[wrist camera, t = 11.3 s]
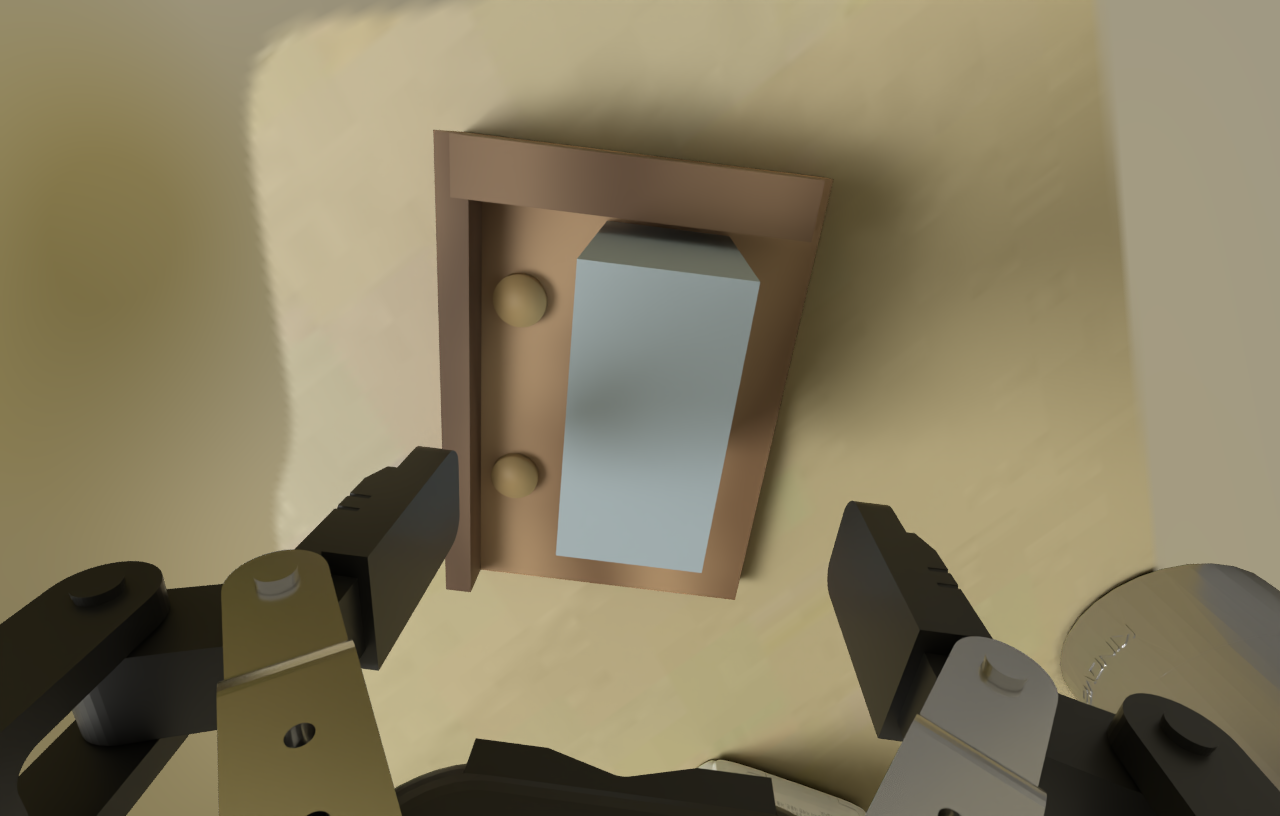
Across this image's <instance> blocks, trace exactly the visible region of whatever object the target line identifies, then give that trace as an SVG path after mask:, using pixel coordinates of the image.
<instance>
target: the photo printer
mask: <svg viewBox="0 0 1280 816" xmlns="http://www.w3.org/2000/svg"><path fill="white" fill-rule="evenodd" d="M698 768H702V769H709V770H717V771H725V772H732V773H740V774H747V775H755V776H762V777H770V778H772V785H773V792H774V799H775V805H776V806H778V807H781V808H783V809H786V810H787V811H789V812H791V813H793V814H795V815H797V816H865V815H866V812H865V811H864V810H863V809H862V808H860V807H858V806H856V805H854V804H852V803H850V802H848V801H845V800H843V799H840V798H837V797H834V796H832V795H829V794H826V793H823V792H820V791H817V790H814V789H812V788H809V787H806V786H803V785H801V784H798V783H795V782H792V781H789V780H786V779H783V778H780V777H777V776H774V775H771V774H768V773H765V772H763V771H761V770H757V769H754V768H751V767H748V766H745V765H741V764H738V763H734V762H730V761H725V760H717V761H714V760H711V761H708V762H706V763H704V764H702V765H701V766H699V767H698Z"/></svg>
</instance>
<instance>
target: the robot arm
mask: <svg viewBox="0 0 1280 816" xmlns="http://www.w3.org/2000/svg"><path fill="white" fill-rule="evenodd" d="M459 518H460V507H459V462H458V455H457V453H456V451H454V450H446V449H438V448H430V447H422V446H418V447H416V448H415V449H414V450H413V451H412V452H411V453H410V454H409V455H408V456H407V458H406V459H405V460H404V461H403V462H402V463H401V464H400V465H399V466H398V467H397V468H396V467H386V468H384V469H382V470H380V471H378V472H376V473H374V474H372V475H370V476H368V477H366V478H364V479H363V480H362V481H361V482H360V484H359V485H358V486H357V487H356V488H355V489H354V490H353V491H352V492H351V493H350V496H347V497H346V498H345V499H344V500H343V501H342V502H341V503H340V504H339V505H338V508H337V509H334V510H333V511H332V512H331V513H330V514H329V515H328V516H327V517H326V518H325V519H324V520H323V521H322V522H321V523H320V524H319V525H318V526H317V527H316V528H315V529H314V530H313V531H312V532H311V533H310V534H309V535H308V536H307V537H306V538H305V539H304V540H303V541H302V542H301V543H300V544H299V545H298V546H297V547H296V548H295V549H294V550H282V551H276V552H272V553H268V554H264V555H262V556H259V557H257V558H254V559H252V560H250V561H248V562H246V563H244V564H243V565H241V566H239V567H238V568H237V569H235V570H234V571H233V572H232V573H231V574H230V575H229V576H228V577H227V579H226V580H225V581H224V583H223V584H218V585H207V586H197V587H186V588H177V589H176V588H175V589H166V586H165V582H164V579H163V575H162V572H161V570H160V569H159V568H158V567H156V566H154V565H153V564H149V563H145V562H139V561H127V562H116V563H110V564H105V565H101V566H97V567H94V568H90V569H87V570H85V571H82V572H79V573H77V574H74V575H72V576H70V577H68V578H66V579H64V580H62V581H60V582H59V583H57V584H55V585H54V586H52V587H51V588H49V589H48V590H47V591H45V592H44V593H42V594H41V595H40V596H38V597H37V598H36V599H34V600H33V601H32V602H30V603H29V604H28V605H26V606H25V607H23V608H22V609H21V610H19V611H18V612H17V613H15V614H14V615H12V616H11V617H10V618H8V619H7V620H6V621H4V622H3V623H2V624H0V816H126V815H127V813H128V812H129V811H130V810H131V808H132V807H133V806H134V805H135V803H136V802H137V801H138V799H139V798H140V797H141V796H142V794H143V793H144V792H145V790H146V789H147V788H148V787H149V785H150V784H151V783H152V782H153V780H154V779H155V778H156V776H157V775H158V774H159V773H160V771H161V770H162V769H163V767H164V766H165V765H166V763H167V762H168V761H169V760H170V758H171V757H172V756H173V755H174V753H175V752H176V751H177V749H178V748H179V747H180V746H181V744H182V743H183V742H184V741H185V739H186V738H187V737H188V735H189V734H194V733H200V732H207V731H213V730H217V747H218V748H217V750H218V798H219V799H218V800H219V801H218V802H219V816H797V815H795V814H793V813H791V812H789V811H787V810H786V809H783V808H781V807H778V806H776V805H775V799H774V792H773V785H772V778H770V777H762V776H755V775H747V774H740V773H732V772H725V771H717V770H709V769H702V768H695V769H687V770H679V771H671V772H663V773H655V774H647V775H639V776H631V777H621V776H617V775H613V774H611V773H608V772H606V771H603V770H601V769H599V768H596V767H594V766H591V765H589V764H586V763H584V762H581V761H579V760H576V759H574V758H571V757H569V756H566V755H564V754H562V753H559V752H557V751H554V750H552V749H549V748H544V747H537V746H529V745H522V744H514V743H507V742H499V741H492V740H484V739H477V738H476V740H475V742H474V745H473V748H472V751H471V754H470V757H469V759H468V762H467V764H461V765H454V766H450V767H446V768H442V769H438V770H435V771H432V772H429V773H427V774H424V775H421V776H418V777H416V778H414V779H412V780H410V781H408V782H406V783H404V784H402V785H400V786H398V787H396V788H395V789H394V785H393V781H392V778H391V774H390V771H389V767H388V763H387V760H386V756H385V752H384V749H383V745H382V742H381V738H380V734H379V731H378V727H377V724H376V720H375V716H374V713H373V709H372V705H371V702H370V698H369V695H368V691H367V687H366V684H365V680H364V676H363V673H362V669H361V668H363V669H370V670H378V671H379V669H380V668H381V666H382V664H383V663H384V661H385V659H386V657H387V656H388V654H389V652H390V651H391V649H392V647H393V646H394V644H395V642H396V640H397V639H398V637H399V635H400V634H401V632H402V630H403V629H404V627H405V625H406V623H407V622H408V620H409V618H410V617H411V615H412V613H413V612H414V610H415V608H416V607H417V605H418V603H419V601H420V600H421V598H422V596H423V595H424V593H425V591H426V590H427V588H428V586H429V584H430V583H431V581H432V579H433V578H434V576H435V574H436V573H437V571H438V569H439V568H440V566H441V564H442V562H443V561H444V559H445V557H446V556H447V554H448V552H449V551H450V549H451V547H452V545H453V543H454V541H455V538H456V535H457V531H458V526H459ZM827 582H828V591H829V595H830V598H831V601H832V604H833V607H834V610H835V613H836V616H837V619H838V622H839V625H840V628H841V631H842V634H843V637H844V640H845V643H846V646H847V648H848V651H849V654H850V657H851V660H852V663H853V666H854V669H855V672H856V675H857V678H858V681H859V684H860V687H861V690H862V693H863V696H864V699H865V702H866V704H867V707H868V710H869V713H870V716H871V719H872V722H873V725H874V728H875V731H876V734H877V737H878V738H880V739H887V740H895V741H903V742H902V744H901V746H900V748H899V750H898V752H897V754H896V756H895V758H894V759H893V761H892V763H891V765H890V767H889V769H888V771H887V773H886V775H885V777H884V779H883V781H882V783H881V785H880V787H879V789H878V791H877V793H876V795H875V797H874V799H873V801H872V803H871V805H870V807H869V809H868V811H867V813H866V815H865V816H1280V591H1279V590H1277V589H1276V588H1274V587H1273V586H1272V585H1270V584H1269V583H1267V582H1266V581H1265V580H1263V579H1261V578H1260V577H1258V576H1257V575H1255V574H1254V573H1251V572H1249V571H1246V570H1243V569H1240V568H1237V567H1234V566H1227V565H1219V564H1187V565H1182V566H1176V567H1171V568H1165V569H1161V570H1158V571H1155V572H1152V573H1149V574H1146V575H1143V576H1140V577H1137V578H1135V579H1133V580H1131V581H1129V582H1127V583H1125V584H1123V585H1121V586H1119V587H1117V588H1115V589H1114V590H1112V591H1111V592H1109V593H1108V594H1106V595H1105V596H1104V597H1102V598H1101V599H1099V600H1098V601H1096V602H1095V603H1094V604H1093V605H1092V606H1091V607H1090V608H1089V609H1088V610H1087V611H1086V612H1085V613H1084V614H1083V615H1082V616H1081V617H1080V618H1079V619H1078V620H1077V622H1076V623H1075V625H1074V626H1073V628H1072V629H1071V630H1070V632H1069V633H1068V636H1067V638H1066V641H1065V643H1064V645H1063V648H1062V654H1061V662H1060V666H1061V670H1062V675H1063V679H1064V681H1065V682H1066V684H1067V686H1068V687H1069V689H1070V691H1071V692H1072V694H1073V695H1074V696H1075V698H1076V699H1077V700H1075V699H1072V698H1069V697H1066V696H1064V695H1061V694H1059V693H1058V692H1057V688H1056V686H1055V684H1054V682H1053V681H1052V679H1051V678H1050V676H1049V675H1048V674H1047V673H1046V672H1045V670H1044V669H1043V668H1042V667H1041V666H1039V665H1038V664H1037V663H1036V662H1035V661H1034V660H1032V659H1031V658H1030V657H1028V656H1027V655H1025V654H1024V653H1022V652H1021V651H1019V650H1017V649H1015V648H1014V647H1012V646H1009V645H1007V644H1005V643H1003V642H1000V641H997V640H994V639H993V638H992V637H991V635H990V634H989V632H988V631H987V629H986V628H985V626H984V625H983V623H982V621H981V620H980V618H979V617H978V615H977V614H976V612H975V611H974V609H973V608H972V606H971V604H970V603H969V601H968V600H967V598H966V597H965V595H964V594H963V592H962V591H961V589H958V584H957V583H956V581H955V580H954V578H953V577H952V575H951V574H950V573H948V569H947V567H946V566H945V564H944V563H943V561H942V560H941V558H940V557H939V555H938V554H937V552H936V551H935V550H934V549H933V548H932V547H930V546H929V545H928V544H927V543H926V542H924V541H923V540H922V539H921V538H920V537H918V536H917V535H916V534H915V533H907V532H906V531H905V529H904V528H903V526H902V524H901V523H900V521H899V519H898V518H897V516H896V514H895V513H894V511H893V509H892V508H891V507H890V506H888V505H880V504H872V503H864V502H856V501H850V502H849V503H848V504H847V506H846V508H845V510H844V513H843V517H842V520H841V524H840V527H839V531H838V534H837V538H836V541H835V545H834V548H833V551H832V555H831V558H830V562H829V567H828V577H827ZM70 711H73V714H74V717H75V719H76V720H75V721H74V722H73V723H72V724H71V725H70V726H69V727H68V728H67V729H66V730H65V731H64V732H63V733H62V734H61V735H60V736H59V737H58V738H57V739H56V740H55V741H54V742H53V743H52V744H51V745H50V746H49V747H48V748H47V749H46V750H45V751H44V752H43V753H42V754H41V755H40V756H39V757H38V758H37V759H36V760H35V761H34V762H33V763H32V764H31V765H30V766H29V767H28V768H27V769H26V770H25V771H24V772H23V773H22V774H21V775H20V776H19V773H20V770H21V768H22V765H23V763H24V761H25V760H26V758H27V757H28V755H29V754H30V752H31V751H32V750H33V748H34V747H35V746H36V745H37V744H38V743H39V742H40V741H41V740H42V739H43V738H44V737H45V736H46V735H47V734H48V733H49V732H50V731H51V730H52V729H53V728H54V727H55V726H56V725H57V724H58V723H59V722H60V721H61V720H63V719H64V717H66V716H67V715H68V714H69V713H70ZM18 776H19V777H18Z"/></svg>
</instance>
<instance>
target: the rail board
mask: <svg viewBox="0 0 1280 816" xmlns="http://www.w3.org/2000/svg"><path fill="white" fill-rule="evenodd" d="M433 133H434V169H435V205H436V241H437V277H438V313H439V349H440V385H441V421H442V449H446V450H454V451H456V453H457V455H458V462H459V507H460V518H459V526H458V531H457V535H456V538H455V541H454V543H453V545H452V547H451V549H450V551H449V552H448V554H447V556H446V557H445V566H446V589H449V590H457V591H465V592H471V590H472V588H473V586H474V583H475V581H476V579H477V576H478V574H479V572H480V570H489V571H498V572H506V573H514V574H523V575H531V576H540V577H548V578H556V579H565V580H573V581H581V582H590V583H598V584H606V585H615V586H623V587H632V588H640V589H648V590H657V591H665V592H673V593H682V594H690V595H698V596H707V597H715V598H723V599H732V600H735V597H736V593H737V589H738V584H739V580H740V576H741V572H742V567H743V563H744V559H745V554H746V550H747V546H748V542H749V537H750V533H751V529H752V525H753V520H754V516H755V512H756V508H757V503H758V499H759V495H760V490H761V486H762V482H763V478H764V473H765V469H766V465H767V461H768V456H769V452H770V448H771V444H772V439H773V435H774V431H775V427H776V422H777V418H778V414H779V409H780V405H781V401H782V397H783V392H784V388H785V384H786V380H787V375H788V371H789V367H790V363H791V358H792V354H793V350H794V345H795V341H796V337H797V333H798V328H799V324H800V320H801V316H802V311H803V307H804V303H805V299H806V294H807V290H808V286H809V281H810V277H811V273H812V269H813V264H814V260H815V256H816V252H817V247H818V243H819V239H820V235H821V230H822V226H823V222H824V217H825V213H826V209H827V205H828V200H829V196H830V192H831V188H832V183H833V179H829V178H825V177H817V176H809V175H801V174H793V173H785V172H777V171H769V170H761V169H753V168H746V167H738V166H730V165H722V164H714V163H706V162H698V161H690V160H682V159H674V158H666V157H658V156H650V155H642V154H634V153H626V152H619V151H611V150H603V149H595V148H587V147H579V146H571V145H563V144H555V143H547V142H539V141H531V140H523V139H515V138H507V137H499V136H492V135H484V134H476V133H468V132H457V131H442V130H433ZM606 221H614V222H622V223H630V224H637V225H645V226H653V227H661V228H669V229H677V230H685V231H693V232H700V233H708V234H716V235H724V236H729V237H730V238H731V240H732V241H733V243H734V244H735V245H736V247H737V248H738V250H739V251H740V253H741V254H742V256H743V257H744V259H745V260H746V262H747V263H748V265H749V266H750V268H751V269H752V270H753V272H754V273H755V275H756V276H757V278H758V279H759V281H760V286H759V291H758V296H757V301H756V306H755V311H754V316H753V321H752V326H751V331H750V336H749V340H748V345H747V350H746V355H745V360H744V365H743V370H742V375H741V380H740V385H739V390H738V395H737V400H736V405H735V410H734V415H733V420H732V425H731V430H730V435H729V440H728V445H727V450H726V455H725V459H724V464H723V469H722V474H721V479H720V484H719V489H718V494H717V499H716V504H715V509H714V514H713V519H712V524H711V529H710V534H709V539H708V544H707V549H706V554H705V559H704V564H703V569H702V573H697V572H689V571H680V570H672V569H664V568H656V567H648V566H639V565H631V564H623V563H615V562H606V561H598V560H590V559H582V558H573V557H565V556H557V555H556V546H557V532H558V518H559V504H560V490H561V476H562V462H563V448H564V434H565V420H566V406H567V392H568V378H569V364H570V350H571V336H572V322H573V308H574V294H575V280H576V266H577V258H578V257H579V256H580V254H581V253H582V252H583V251H584V249H585V248H586V247H587V246H588V244H589V243H590V242H591V240H592V239H593V238H594V237H595V235H596V234H597V233H598V232H599V230H600V229H601V228H602V227H603V225H604V224H605V223H606Z"/></svg>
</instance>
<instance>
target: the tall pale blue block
mask: <svg viewBox="0 0 1280 816" xmlns="http://www.w3.org/2000/svg"><path fill="white" fill-rule="evenodd" d="M759 286H760V281H759V279H758V278H757V276H756V275H755V273H754V272H753V270H752V269H751V268H750V266H749V265H748V263H747V262H746V260H745V259H744V257H743V256H742V254H741V253H740V251H739V250H738V248H737V247H736V245H735V244H734V243H733V241H732V240H731V238H730V237H729V236H724V235H716V234H708V233H700V232H693V231H685V230H677V229H669V228H661V227H653V226H645V225H637V224H630V223H622V222H614V221H606V223H605V224H604V225H603V227H602V228H601V229H600V230H599V232H598V233H597V234H596V235H595V237H594V238H593V239H592V240H591V242H590V243H589V244H588V246H587V247H586V248H585V249H584V251H583V252H582V253H581V254H580V256H579V257H578V258H577V266H576V280H575V294H574V308H573V322H572V336H571V350H570V364H569V378H568V392H567V406H566V420H565V434H564V448H563V462H562V476H561V490H560V504H559V518H558V532H557V546H556V555H557V556H565V557H573V558H582V559H590V560H598V561H606V562H615V563H623V564H631V565H639V566H648V567H656V568H664V569H672V570H680V571H689V572H697V573H702V569H703V564H704V559H705V554H706V549H707V544H708V539H709V534H710V529H711V524H712V519H713V514H714V509H715V504H716V499H717V494H718V489H719V484H720V479H721V474H722V469H723V464H724V459H725V455H726V450H727V445H728V440H729V435H730V430H731V425H732V420H733V415H734V410H735V405H736V400H737V395H738V390H739V385H740V380H741V375H742V370H743V365H744V360H745V355H746V350H747V345H748V340H749V336H750V331H751V326H752V321H753V316H754V311H755V306H756V301H757V296H758V291H759Z"/></svg>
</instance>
